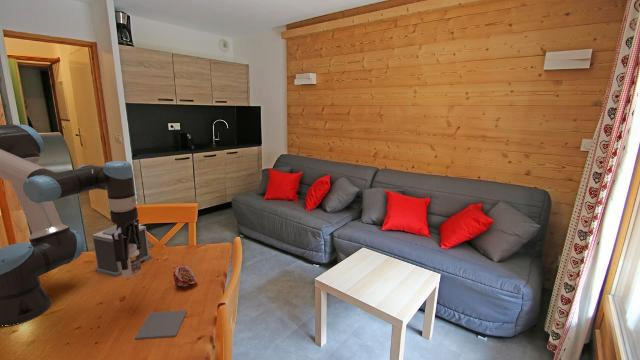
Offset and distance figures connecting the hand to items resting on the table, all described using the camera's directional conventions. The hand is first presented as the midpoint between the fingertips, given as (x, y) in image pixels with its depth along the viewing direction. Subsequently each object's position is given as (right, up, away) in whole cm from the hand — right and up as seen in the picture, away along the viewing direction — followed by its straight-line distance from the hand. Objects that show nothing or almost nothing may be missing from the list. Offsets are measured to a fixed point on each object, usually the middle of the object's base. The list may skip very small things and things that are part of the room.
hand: (131, 271), depth 105 cm
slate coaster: (+13, -16, -5) cm, 21 cm away
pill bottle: (0, -1, 0) cm, 1 cm away
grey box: (-23, -7, +33) cm, 41 cm away
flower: (+11, -11, +18) cm, 24 cm away
